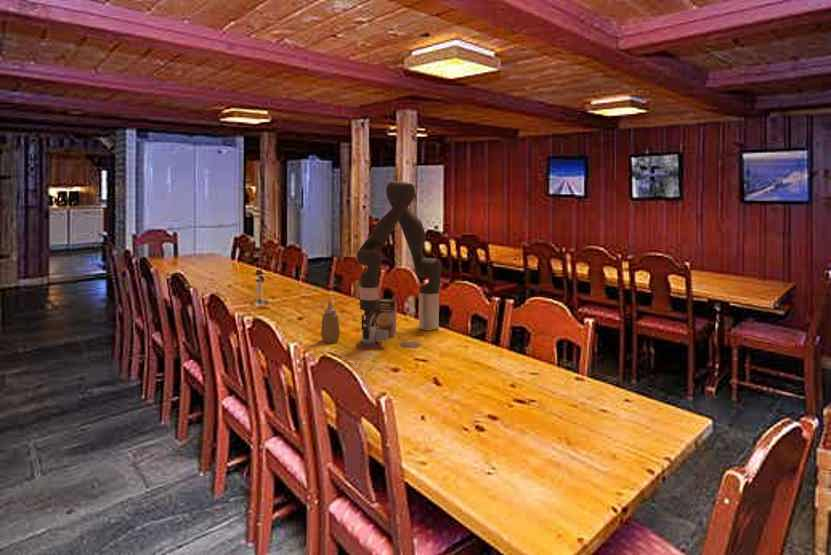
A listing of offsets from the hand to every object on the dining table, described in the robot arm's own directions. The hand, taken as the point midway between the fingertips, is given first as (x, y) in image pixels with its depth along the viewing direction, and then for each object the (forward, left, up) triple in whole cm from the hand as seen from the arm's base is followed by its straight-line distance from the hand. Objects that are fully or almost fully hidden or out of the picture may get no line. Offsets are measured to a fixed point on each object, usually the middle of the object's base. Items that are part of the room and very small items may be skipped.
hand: (369, 336), depth 228 cm
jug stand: (0, 0, -5) cm, 5 cm away
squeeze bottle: (-4, -18, -5) cm, 19 cm away
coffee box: (-21, +2, -5) cm, 22 cm away
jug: (0, +2, -4) cm, 5 cm away
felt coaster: (-6, +16, -5) cm, 18 cm away
